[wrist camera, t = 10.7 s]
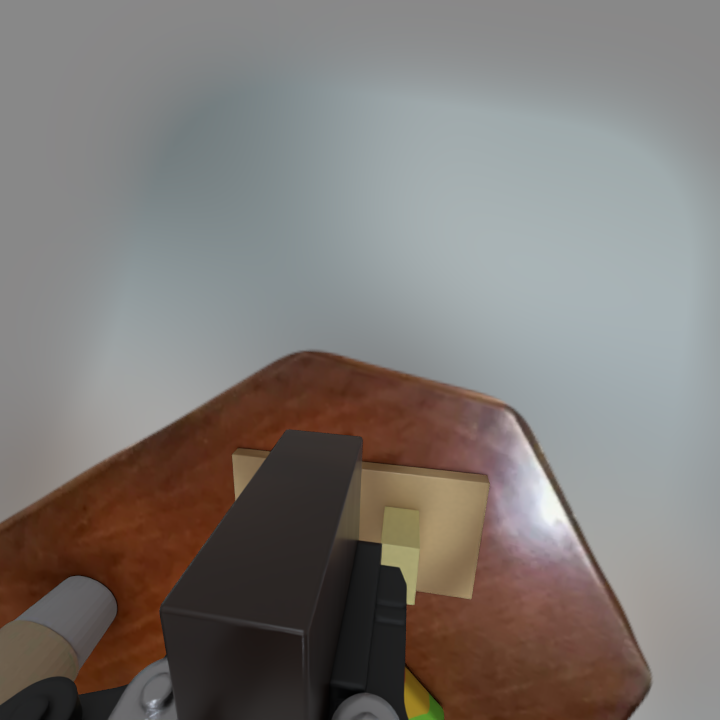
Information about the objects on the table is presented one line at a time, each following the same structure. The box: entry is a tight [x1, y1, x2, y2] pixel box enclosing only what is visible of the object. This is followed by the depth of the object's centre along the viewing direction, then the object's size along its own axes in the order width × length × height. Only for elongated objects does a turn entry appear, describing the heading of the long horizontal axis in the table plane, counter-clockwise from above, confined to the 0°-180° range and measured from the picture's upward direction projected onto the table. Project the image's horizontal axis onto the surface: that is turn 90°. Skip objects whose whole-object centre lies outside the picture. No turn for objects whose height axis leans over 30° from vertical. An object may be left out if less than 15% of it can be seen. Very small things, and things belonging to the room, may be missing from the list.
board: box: [232, 448, 490, 599], centre depth 27 cm, size 18×10×1 cm, turn 88°
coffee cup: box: [0, 576, 117, 705], centre depth 28 cm, size 9×9×15 cm
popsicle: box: [404, 667, 444, 720], centre depth 32 cm, size 6×15×2 cm, turn 38°
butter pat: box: [381, 506, 420, 605], centre depth 25 cm, size 2×4×4 cm, turn 178°
